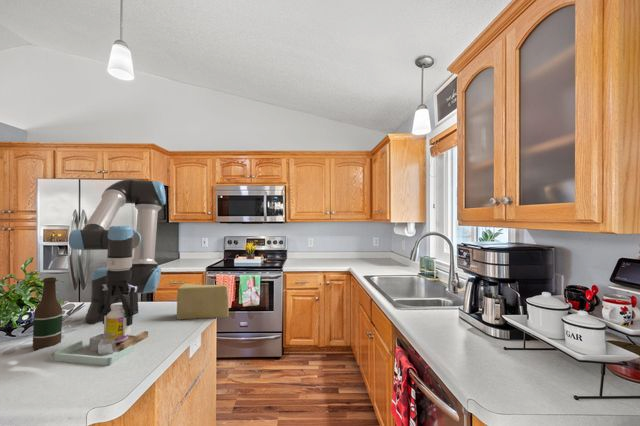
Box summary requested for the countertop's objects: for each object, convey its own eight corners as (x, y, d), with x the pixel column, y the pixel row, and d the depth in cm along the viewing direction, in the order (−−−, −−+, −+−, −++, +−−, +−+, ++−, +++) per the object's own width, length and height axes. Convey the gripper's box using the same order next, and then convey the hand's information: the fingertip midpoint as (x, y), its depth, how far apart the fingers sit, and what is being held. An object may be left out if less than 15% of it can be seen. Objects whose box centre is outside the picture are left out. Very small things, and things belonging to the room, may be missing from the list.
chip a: (102, 344, 107) (102, 333, 107) (109, 347, 105) (109, 335, 105) (89, 349, 103) (89, 338, 103) (96, 352, 102) (96, 340, 101)
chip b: (102, 350, 103) (101, 339, 103) (116, 348, 105) (115, 337, 104) (98, 357, 99) (97, 345, 99) (113, 354, 101) (111, 343, 100)
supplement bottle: (117, 345, 105) (118, 307, 105) (101, 343, 106) (102, 306, 106) (132, 337, 111) (133, 302, 111) (117, 335, 113) (118, 300, 113)
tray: (80, 349, 105) (80, 340, 105) (133, 354, 103) (133, 345, 103) (51, 363, 95) (51, 353, 95) (109, 368, 93) (109, 358, 93)
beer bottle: (66, 344, 109) (69, 277, 110) (40, 353, 102) (43, 281, 102) (52, 340, 112) (55, 275, 112) (26, 349, 104) (29, 279, 105)
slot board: (116, 336, 117) (116, 329, 117) (147, 339, 115) (148, 331, 115) (89, 350, 105) (89, 341, 105) (123, 353, 103) (124, 344, 103)
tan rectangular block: (230, 313, 148) (231, 282, 148) (225, 320, 138) (226, 287, 138) (183, 313, 147) (184, 282, 147) (175, 320, 137) (176, 286, 137)
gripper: (85, 269, 106) (83, 335, 106) (137, 272, 104) (134, 339, 104) (103, 266, 114) (101, 328, 113) (151, 268, 111) (149, 331, 111)
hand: (117, 333), depth 108 cm, fingers closed on supplement bottle, 7 cm apart
